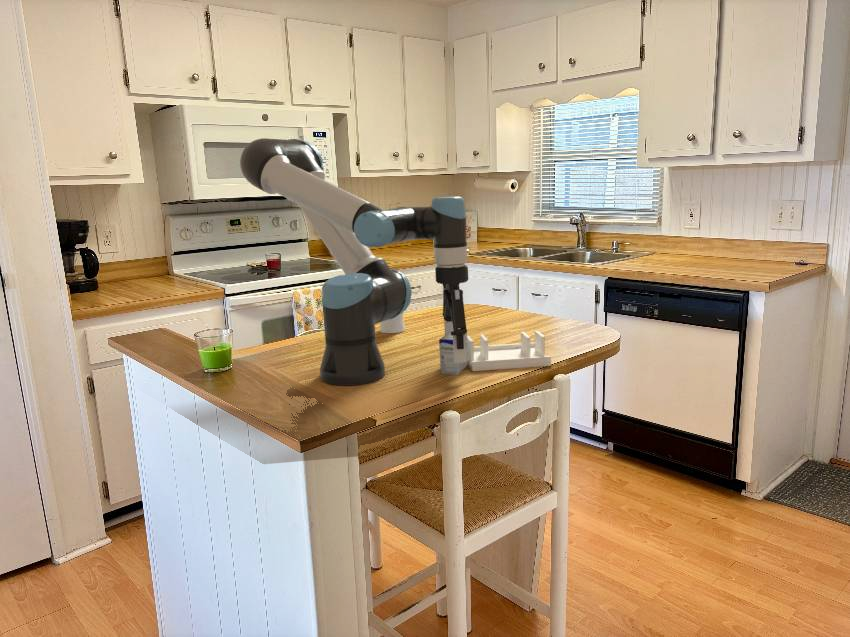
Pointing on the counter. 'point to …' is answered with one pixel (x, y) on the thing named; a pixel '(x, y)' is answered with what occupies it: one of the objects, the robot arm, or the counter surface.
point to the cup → (393, 325)
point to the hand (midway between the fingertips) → (455, 354)
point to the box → (450, 356)
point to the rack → (508, 354)
